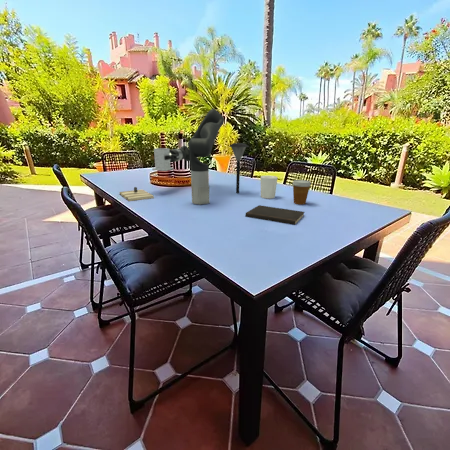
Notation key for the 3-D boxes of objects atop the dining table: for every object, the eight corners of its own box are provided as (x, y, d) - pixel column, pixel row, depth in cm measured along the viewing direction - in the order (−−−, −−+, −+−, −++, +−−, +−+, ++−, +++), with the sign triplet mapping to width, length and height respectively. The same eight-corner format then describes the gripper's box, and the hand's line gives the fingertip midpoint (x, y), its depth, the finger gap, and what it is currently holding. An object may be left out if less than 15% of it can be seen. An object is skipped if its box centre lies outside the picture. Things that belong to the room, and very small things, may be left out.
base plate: (153, 198, 156) (152, 188, 154) (128, 201, 148) (127, 191, 147) (142, 191, 171) (141, 183, 170) (119, 194, 164) (118, 185, 162)
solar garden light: (247, 191, 175) (249, 143, 165) (247, 195, 164) (249, 143, 154) (228, 190, 176) (229, 142, 166) (227, 195, 165) (227, 143, 155)
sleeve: (173, 168, 164) (172, 148, 160) (165, 170, 156) (164, 149, 152) (160, 168, 167) (159, 148, 163) (152, 170, 159) (150, 148, 155)
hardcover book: (258, 209, 137) (259, 205, 136) (304, 216, 127) (304, 211, 126) (245, 217, 124) (245, 212, 123) (294, 226, 113) (295, 221, 113)
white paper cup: (277, 199, 156) (278, 178, 152) (260, 199, 156) (261, 178, 152) (274, 195, 165) (276, 175, 161) (258, 195, 165) (259, 175, 161)
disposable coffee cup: (288, 204, 146) (290, 181, 142) (293, 200, 154) (295, 179, 150) (306, 206, 142) (309, 183, 138) (310, 202, 149) (312, 180, 146)
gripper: (164, 149, 173) (148, 150, 158) (184, 149, 168) (170, 151, 154) (164, 161, 175) (150, 163, 161) (184, 161, 171) (171, 165, 156)
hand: (160, 157), depth 157 cm, fingers closed on sleeve, 6 cm apart
